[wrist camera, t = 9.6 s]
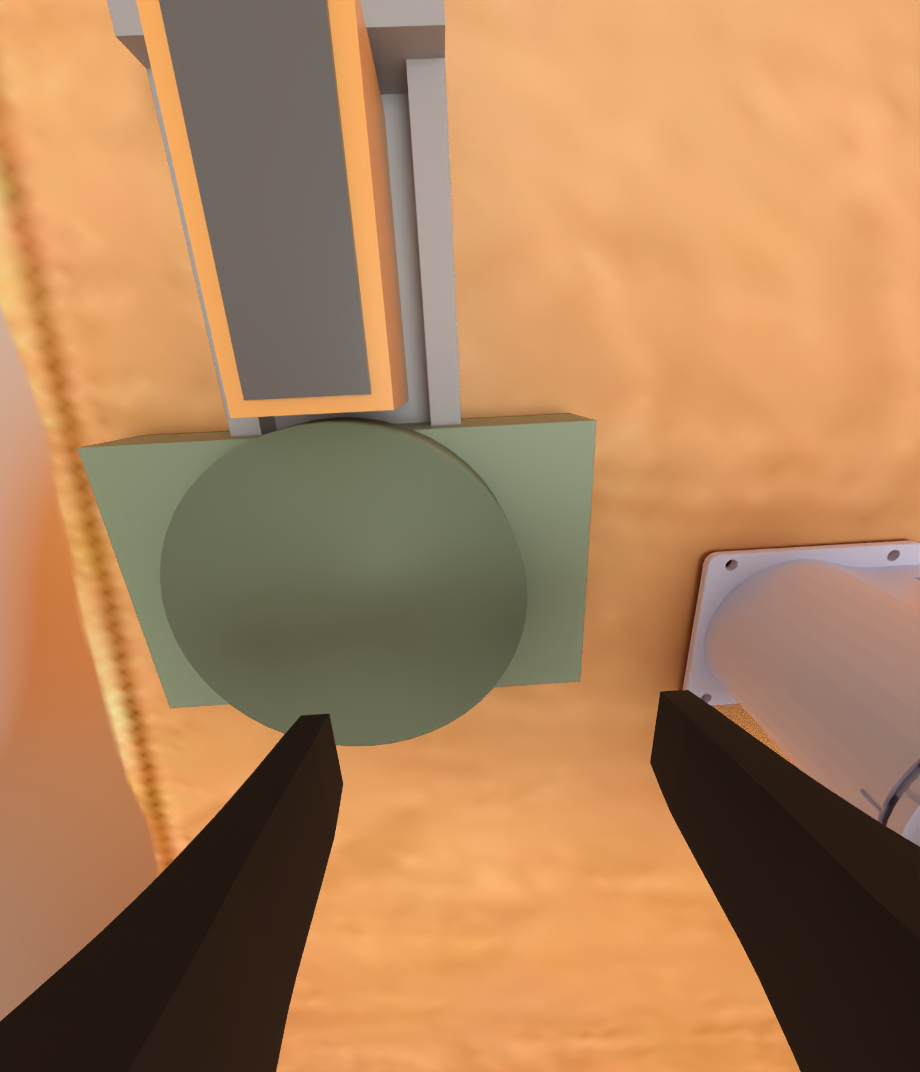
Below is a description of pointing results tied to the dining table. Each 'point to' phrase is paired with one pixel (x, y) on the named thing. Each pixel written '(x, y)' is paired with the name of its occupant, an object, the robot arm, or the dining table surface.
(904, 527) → the dining table surface
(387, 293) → the orange-framed grey panel
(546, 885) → the dining table surface
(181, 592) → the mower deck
